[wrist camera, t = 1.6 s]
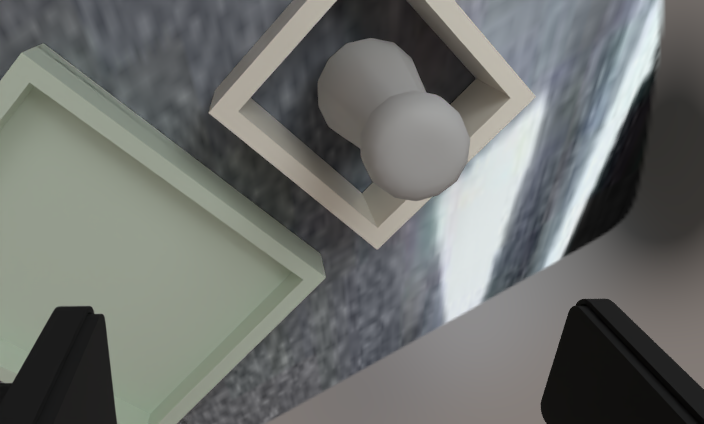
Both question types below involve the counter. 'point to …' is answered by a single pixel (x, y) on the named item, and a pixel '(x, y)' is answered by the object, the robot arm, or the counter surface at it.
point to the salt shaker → (393, 119)
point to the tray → (132, 243)
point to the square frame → (312, 171)
